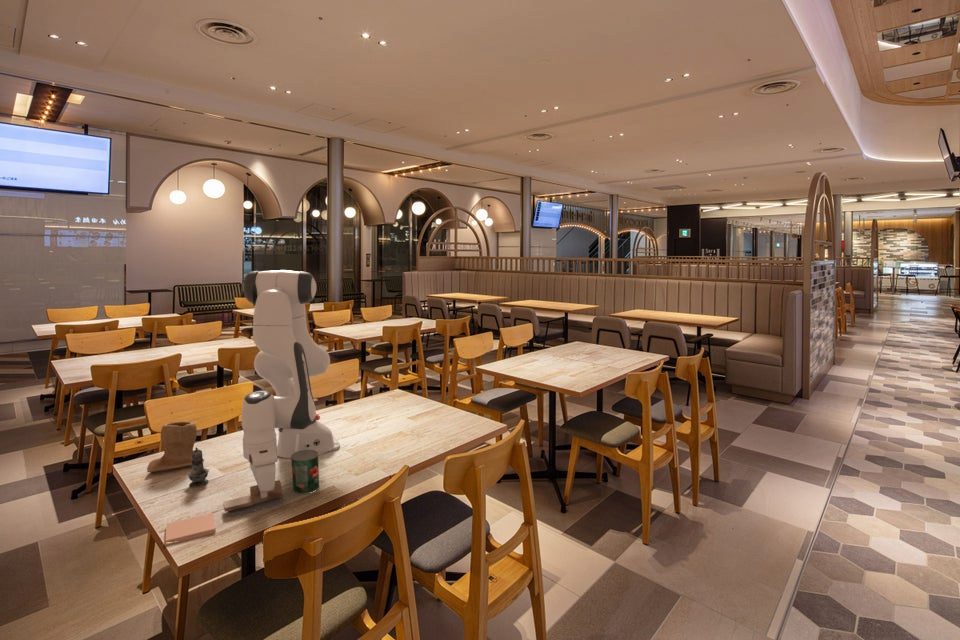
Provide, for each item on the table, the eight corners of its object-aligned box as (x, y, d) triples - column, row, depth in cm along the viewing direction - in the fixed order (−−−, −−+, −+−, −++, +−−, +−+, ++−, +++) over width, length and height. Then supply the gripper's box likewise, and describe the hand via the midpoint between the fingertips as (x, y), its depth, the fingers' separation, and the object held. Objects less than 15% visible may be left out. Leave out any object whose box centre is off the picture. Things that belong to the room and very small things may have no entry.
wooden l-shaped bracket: (279, 491, 146) (278, 479, 146) (282, 497, 142) (281, 484, 142) (223, 504, 138) (222, 491, 137) (224, 511, 134) (224, 498, 134)
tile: (213, 512, 135) (166, 523, 129) (215, 528, 127) (165, 540, 121) (213, 518, 135) (166, 529, 129) (215, 534, 127) (165, 546, 122)
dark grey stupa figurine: (190, 480, 156) (187, 444, 154) (211, 478, 158) (208, 442, 156) (186, 488, 150) (183, 451, 149) (207, 486, 152) (205, 449, 151)
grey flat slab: (279, 495, 147) (279, 493, 147) (283, 504, 142) (283, 502, 142) (227, 507, 139) (227, 505, 139) (229, 517, 134) (229, 515, 134)
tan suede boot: (201, 455, 176) (198, 415, 174) (200, 467, 165) (198, 425, 163) (150, 463, 168) (147, 421, 166) (147, 477, 158) (143, 433, 156)
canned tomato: (321, 490, 150) (320, 456, 149) (294, 496, 146) (293, 461, 145) (316, 480, 157) (315, 447, 156) (290, 485, 153) (289, 452, 152)
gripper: (243, 438, 147) (245, 482, 148) (253, 463, 129) (256, 512, 131) (265, 435, 150) (267, 477, 152) (278, 458, 133) (280, 506, 135)
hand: (262, 493), depth 141 cm, fingers closed on wooden l-shaped bracket, 3 cm apart
